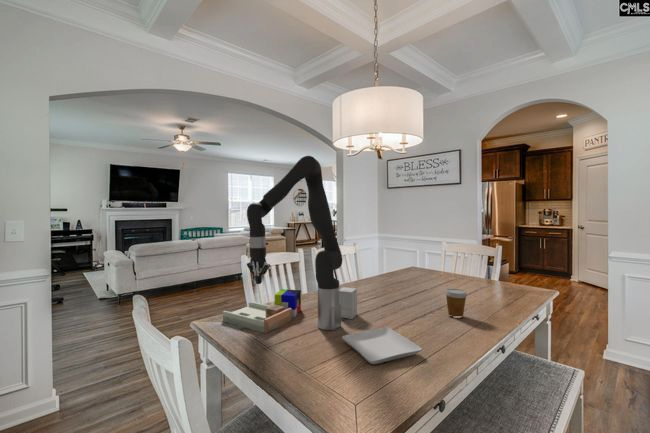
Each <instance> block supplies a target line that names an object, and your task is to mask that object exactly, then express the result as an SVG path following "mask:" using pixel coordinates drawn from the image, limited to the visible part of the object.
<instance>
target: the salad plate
mask: <svg viewBox="0 0 650 433" xmlns="http://www.w3.org/2000/svg"><path fill="white" fill-rule="evenodd" d="M341 337H342V340H343V341H344V342H345V343H346V344H347V345H348V346H350V347H351V348H353V349H354V350H355V351H356V352H357V353H358V354H359V355H360V356H362V357H363V359H365V360H366V361H367V362H368V363H369V364H371V365H378V364H382V363H384V362H390V361H394V360H397V359H402V358H406V357H410V356H414V355H416V354H419V353H420V352H421V351H422V347H420V346H419V345H418V344H416V343H414V342H412V341H411V340H409V339H408V338H407V337H405V336H403V335H401V334H399V332H397V331H395V330H394V329H392V328H390V327H388V326H386V327H380V328H376V329H375V328H374V329H370V330H366V331H365V330H364V331H360V332H355V333H350V334H346V335H342V336H341Z"/></svg>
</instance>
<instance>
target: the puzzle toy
mask: <svg viewBox="0 0 650 433" xmlns="http://www.w3.org/2000/svg"><path fill="white" fill-rule="evenodd" d="M301 294H302V293H301V290H300V289H287V288H285V289H283V288H282V289H280V290H279V291H277V292H276V293H275V294H274V305H279V306H283V307H285V309H288V308H292V317H293V318H295V317H296V316H297V315H298V314H299V313H300V311H302V309H301V308H302V307H301V306H302V302H301V301H302V298H301V297H302V295H301Z"/></svg>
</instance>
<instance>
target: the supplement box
mask: <svg viewBox="0 0 650 433" xmlns="http://www.w3.org/2000/svg"><path fill="white" fill-rule="evenodd" d="M339 304H341V319H342V318H343V319H344V318H345V319H350V320H353V319H354V318H355V317H356V316H357V315H358V292H357V288H354V287H353V288H352V287H345V286H343V287H341V288H339Z"/></svg>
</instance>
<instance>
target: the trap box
mask: <svg viewBox="0 0 650 433" xmlns="http://www.w3.org/2000/svg"><path fill="white" fill-rule="evenodd" d="M270 306H271V305H268V304H263V303H259V302H254V301H248V306H245V307H243V308H240V309H237V310H234V311H227V310H223V311H222V322H225V323H228V324H232V325H235V326H239V327H242V328H244V329H250V330H253V331H257V332H260V333H262V334H267V333H270V332H272V331H273V330H276V329H277V328H280V327H282V326H283V325H286V324H287V323H289V322H291V321H292V320H293V318H292V308H288V309H285V310H284V311H282V312H279V313H277V314H275V315H273V316H271V317H268V318H267V317H266V308H267V307H270Z"/></svg>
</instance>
